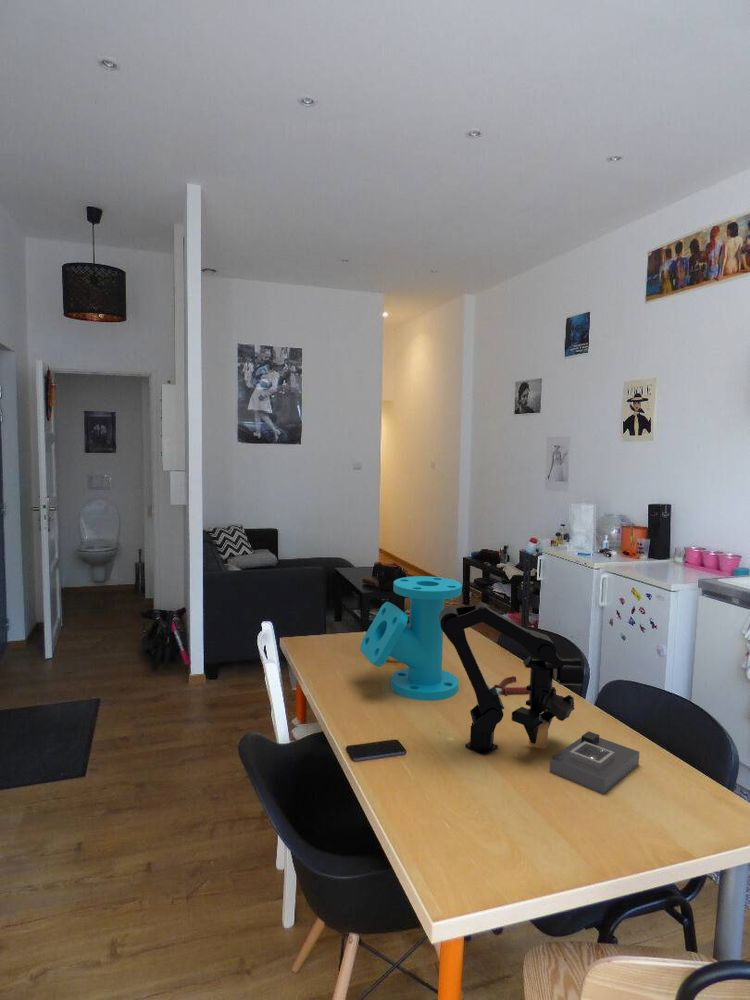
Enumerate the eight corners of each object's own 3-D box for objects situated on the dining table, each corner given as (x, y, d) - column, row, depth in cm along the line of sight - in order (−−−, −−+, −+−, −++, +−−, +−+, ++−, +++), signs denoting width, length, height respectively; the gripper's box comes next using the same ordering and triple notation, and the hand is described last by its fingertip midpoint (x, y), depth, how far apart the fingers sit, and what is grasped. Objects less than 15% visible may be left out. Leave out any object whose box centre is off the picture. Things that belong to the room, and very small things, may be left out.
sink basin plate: (604, 794, 147) (605, 774, 146) (549, 771, 156) (550, 752, 156) (638, 764, 161) (639, 746, 160) (586, 745, 171) (587, 727, 170)
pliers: (470, 693, 206) (470, 685, 206) (513, 681, 217) (513, 674, 217) (495, 706, 197) (496, 698, 196) (539, 693, 208) (539, 685, 208)
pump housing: (541, 750, 164) (542, 724, 164) (519, 741, 169) (520, 716, 168) (550, 744, 168) (552, 719, 167) (528, 735, 172) (529, 711, 172)
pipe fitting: (469, 696, 202) (473, 589, 199) (374, 706, 193) (377, 594, 190) (442, 672, 224) (445, 575, 220) (355, 680, 214) (357, 578, 211)
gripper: (551, 702, 154) (547, 763, 155) (586, 682, 167) (583, 739, 169) (511, 689, 162) (509, 747, 163) (548, 671, 175) (545, 725, 176)
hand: (538, 740), depth 167 cm, fingers closed on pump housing, 5 cm apart
